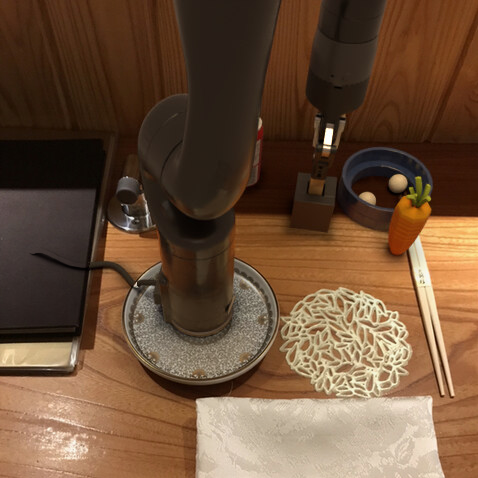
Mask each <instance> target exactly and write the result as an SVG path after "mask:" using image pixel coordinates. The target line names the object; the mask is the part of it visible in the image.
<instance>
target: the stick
mask: <svg viewBox="0 0 478 478" xmlns="http://www.w3.org/2000/svg"><path fill="white" fill-rule="evenodd" d="M324 181H325V180H316V179H312V178H310V184H309V189H308V194H312V195H319V196H321V195H322V190H323V186H324Z"/></svg>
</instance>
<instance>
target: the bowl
mask: <svg viewBox="0 0 478 478" xmlns="http://www.w3.org/2000/svg"><path fill="white" fill-rule="evenodd" d="M397 174H400V175H403V176H405V178H406V179H407V187H406V189H405V190H407V192H408V193H409V195H411V193H410V190H409V187H413V188H414V192H415V194H416V183H415V177H421V181H422V194H421V197H422V195H423V192H424V189H425V186H426V184H429V185H430V186H431V189H430V192H429V194H428V196H430V197H431V194H432V191H433V189H434V188H433V187H434V185H433V181H434V180H433V178H432V175H431V173H430V171H429V169H428V168H427V167H426V166H425V164H424V163H423V162H422V161H421V160H420V159H418V158H417V157H415V156H414V155H411V154H410V153H408V152H406V151H403V150H400V149H397V148H393V147H385V146H375V147H373V146H372V147H368V148H363V149H361V150H359V151H356V152H355V153H353V154H352V155H350V156H349V157H348V158H347V159H346V161H345V162H344V165H343V167H342V169H341V173H340V177H339V181H338V187H337V190H336V198H337V202H338V206H339V208H340V209H341V211H342V212H343V213H344V214H345V215H346V216H347V217H348V218H349V219H350V220H351V221H352V222H355V223H356V224H357V225H359V226H361V227H363V228H366V229H369V230H372V231H377V232H384V233H385V232H386V233H389V226H390V222H391V219H392V216H393V213H394V210H395V208H390V207H381V206H378V205H376V204H375V205H372V204H370V203H368V202H366V201H364V200H363V199H361V198H360V197H359V195H358V194H356V192H354V191H353V189H352V186H354V184H355V183H356V182H357V181H359V180H361V179H363V178H368V177H384V178H388V179H390V178H391V177H392V176H394V175H397Z"/></svg>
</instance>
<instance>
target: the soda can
mask: <svg viewBox="0 0 478 478" xmlns="http://www.w3.org/2000/svg"><path fill="white" fill-rule="evenodd" d="M263 140H264V126H263V120H262V118H261V117H260V119H259V127H258V135H257V143H256V152H255V158H254V164H253V169H252V173H251V176H250V179H249V181H248V184H247V186H246V188H248V187H251V186H254V185H256V184H257V183H258V182H259V179H260V176H261V164H262V152H263V143H264V141H263Z"/></svg>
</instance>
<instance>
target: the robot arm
mask: <svg viewBox="0 0 478 478" xmlns="http://www.w3.org/2000/svg"><path fill="white" fill-rule="evenodd" d="M282 1H283V0H172V3H173V8H174V9H173V10H174V14H175V19H176V24H177V30H178V34H179V40H180V45H181V50H182V55H183V60H184V67H185V73H186V81H187V93H176V94H171V95H169V96H167V97H165V98H163V99H161V100H160V101H158V102H157V103H156V104H155V105H153V107H152V108H151V109H150V110H149V112H148V113H147V115H146V116H145V117H144V119H143V121H142V123H141V126H140V129H139V132H138V135H137V136H138V137H137V143H136V144H137V145H136V148H137V149H136V151H137V152H136V153H137V160H138V166H139V167H138V168H139V172H140V177H141V182H142V187H143V192H144V197H145V201H146V206H147V209H148V212H149V214H150V217H151V219H152V221H153V223H154V226H155V229H156V235H157V241H158V248H159V255H160V263H161V265H160V267H159V272H158V275H157V279H151V278H150V279H149V278H147V279H146V278H144V279H143V278H142V279H138V280H137V281H136V280H135V279H134V278H133V277H132V276H131V275H130V274H129V272H128V271H127V270H126V269H125V268H124V267H123V266H122V265H120V264H119V263H117V262H114V261H110V260H97V261H91V263H90V262H89V263H90V265H89V268H88V269H95V268H111V269H113V270H115V271H117V272H118V273H119V275H121V276H122V277H123V279H124V280H125V282H126V283H128V285H129V286H131V287H132V286H133V285H134V283H135V282H137V286H138V287H139V288H138V289H140V288H141V287H143V286H146V287H154V289H153V291H152V295H153V303H154V305H157V306H161V307H162V312H163V319H164V322H165V323H168V324H172V325H173V327H174V328H175V329H177V330H178V331H179V332H180V333H182V334H185V335H187V336H191V337H197V338H203V337H209V336H213V335H215V334H217V333H219V332H221V331H222V330H224V329H225V328H226V326H227V325H229V323H230V321H231V320H232V317H233V314H234V302H235V300H236V294H237V293H236V291H235V292H234V281H235V279H234V277H235V253H236V225H237V224H236V223H237V221H236V212H235V209H234V206H235V205H236V203H237V202H238V201H239V200H240V199H241V197H242V195H243V194H244V192H245V191H246V188H247V187H246V186H247V184H248V181H249V179H250V176H251V173H252V169H253V164H254V158H255V152H256V143H257V135H258V127H259V119H260V118H261V111H262V103H263V95H264V88H265V83H266V78H267V72H268V68H269V63H270V59H271V54H272V50H273V45H274V39H275V35H276V29H277V24H278V19H279V16H280V10H281V6H282ZM387 4H388V0H320V6H319V12H318V20H317V25H316V29H315V32H314V36H313V39H312V44H311V50H310V57H309V62H308V63H309V64H308V70H307V77H306V84H305V91H304V92H305V97H306V100H307V101H308V103H309V104H310V105H311V106H312V107H314V109H315V116H314V123H313V128H314V133H313V139H312V147H314V152H313V154H312V167H311V173H310V174H311V178H312V179H316V180H325V179H326V177H327V176H328V173H329V169H330V168H332V166H333V164H334V160H335V157H336V153H338V148H339V145H340V141H341V136H342V133H343V132H344V131H345V127H346V122H347V117H346V114H349V113H352V112H354V111H357V110H358V109H359V108H360V107H361V106H362V105H363V103H364V102H365V98H366V95H367V90H368V86H369V83H370V79H371V75H372V71H373V67H374V63H375V59H376V56H377V50H378V46H379V45H378V44H379V36H380V30H381V27H382V23H383V19H384V16H385V12H386V9H387V8H386V7H387Z"/></svg>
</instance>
